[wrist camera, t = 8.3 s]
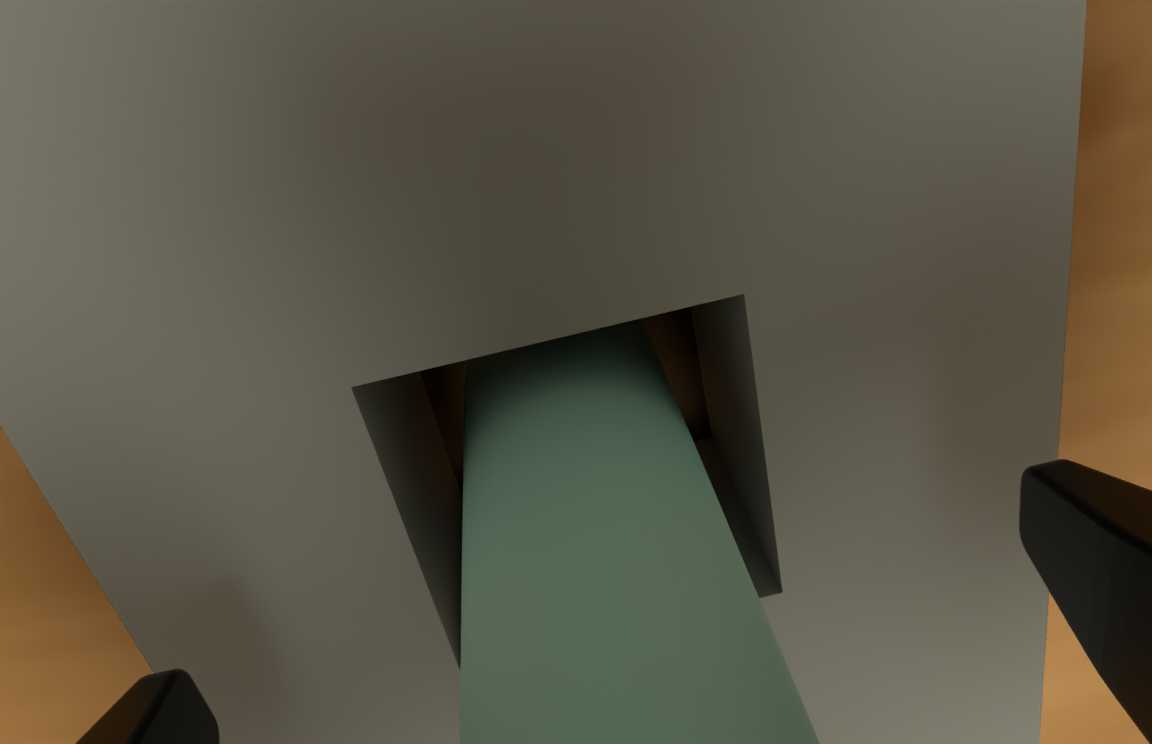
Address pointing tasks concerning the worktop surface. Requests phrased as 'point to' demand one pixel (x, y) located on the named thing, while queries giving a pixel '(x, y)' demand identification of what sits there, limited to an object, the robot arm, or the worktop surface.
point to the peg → (604, 562)
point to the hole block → (540, 319)
